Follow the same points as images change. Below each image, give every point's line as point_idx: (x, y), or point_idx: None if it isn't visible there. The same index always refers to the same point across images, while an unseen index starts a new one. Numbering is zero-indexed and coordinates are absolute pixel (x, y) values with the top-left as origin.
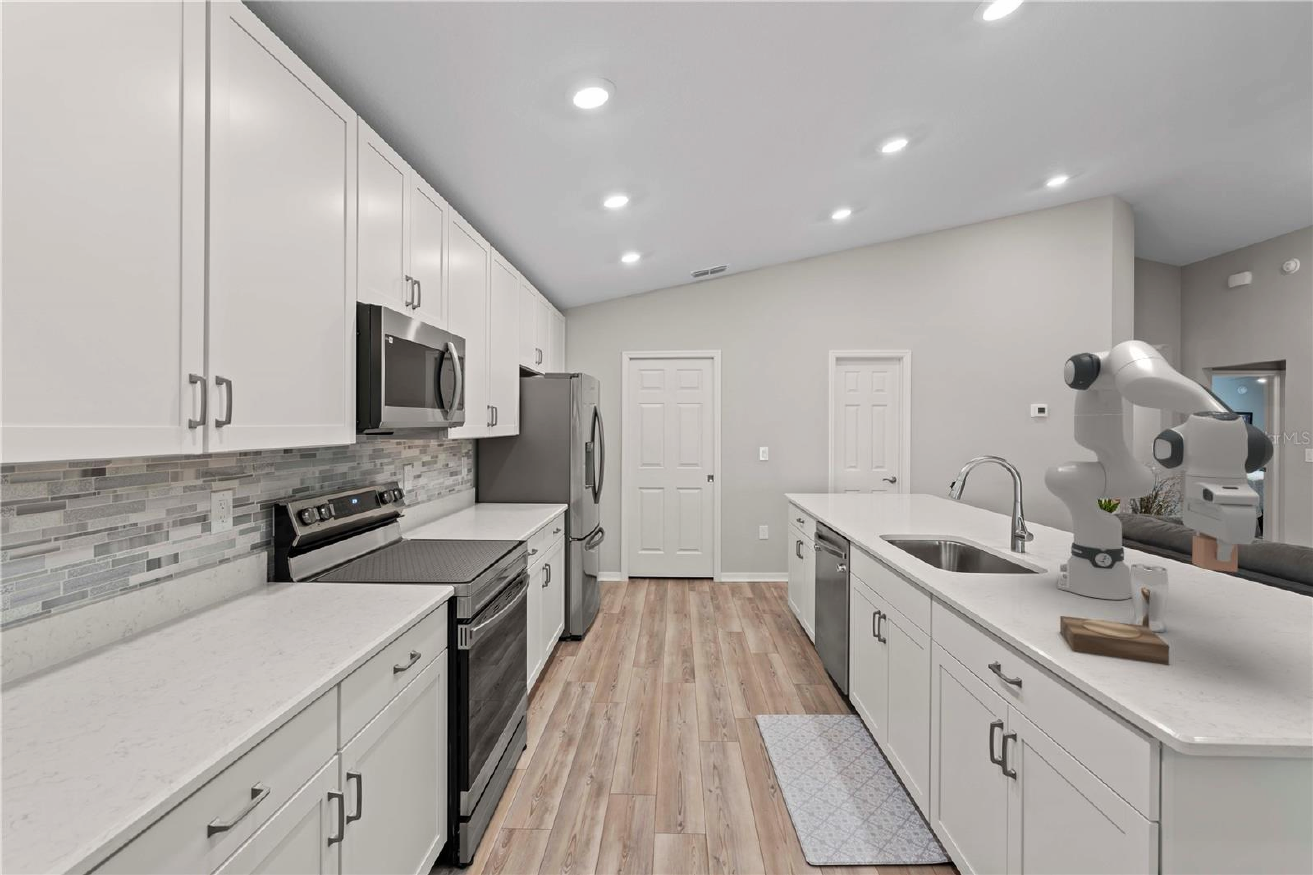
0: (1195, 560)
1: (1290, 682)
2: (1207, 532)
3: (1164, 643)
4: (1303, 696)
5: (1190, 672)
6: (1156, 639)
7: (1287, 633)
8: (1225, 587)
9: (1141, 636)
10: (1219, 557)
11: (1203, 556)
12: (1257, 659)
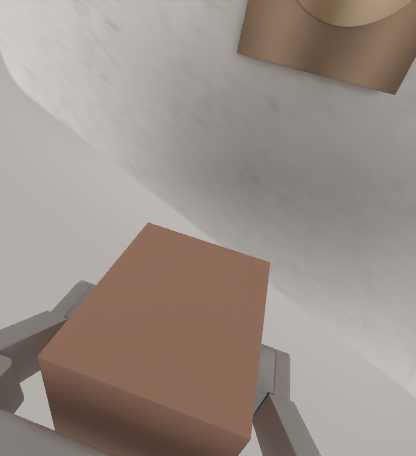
0: (230, 266)
1: (201, 217)
2: (11, 454)
3: (250, 51)
4: (154, 193)
5: (209, 75)
6: (280, 47)
7: (405, 371)
8: None
9: (302, 12)
10: (69, 292)
11: (120, 264)
12: (290, 246)
